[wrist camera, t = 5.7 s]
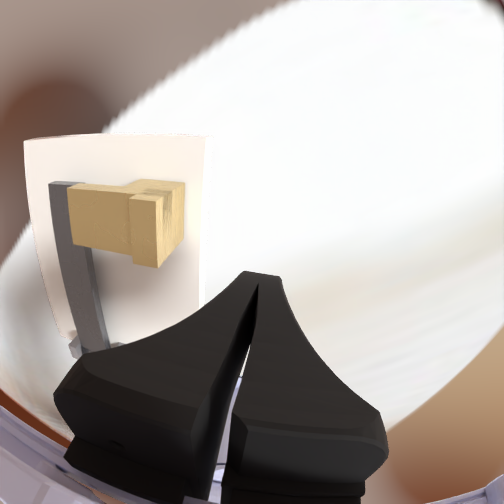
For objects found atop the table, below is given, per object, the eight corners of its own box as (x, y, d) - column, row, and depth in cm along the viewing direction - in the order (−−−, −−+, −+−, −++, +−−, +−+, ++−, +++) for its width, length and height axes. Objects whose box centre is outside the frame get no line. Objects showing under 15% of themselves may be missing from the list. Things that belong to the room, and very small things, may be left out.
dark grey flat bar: (115, 358, 24) (109, 368, 23) (90, 349, 25) (83, 358, 23) (87, 181, 17) (74, 186, 16) (57, 179, 18) (45, 184, 16)
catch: (183, 238, 19) (157, 268, 15) (100, 225, 19) (65, 249, 16) (185, 182, 17) (155, 201, 13) (96, 175, 18) (58, 191, 14)
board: (204, 368, 26) (192, 401, 23) (67, 327, 27) (48, 350, 24) (213, 136, 17) (191, 141, 14) (35, 138, 19) (1, 147, 15)
